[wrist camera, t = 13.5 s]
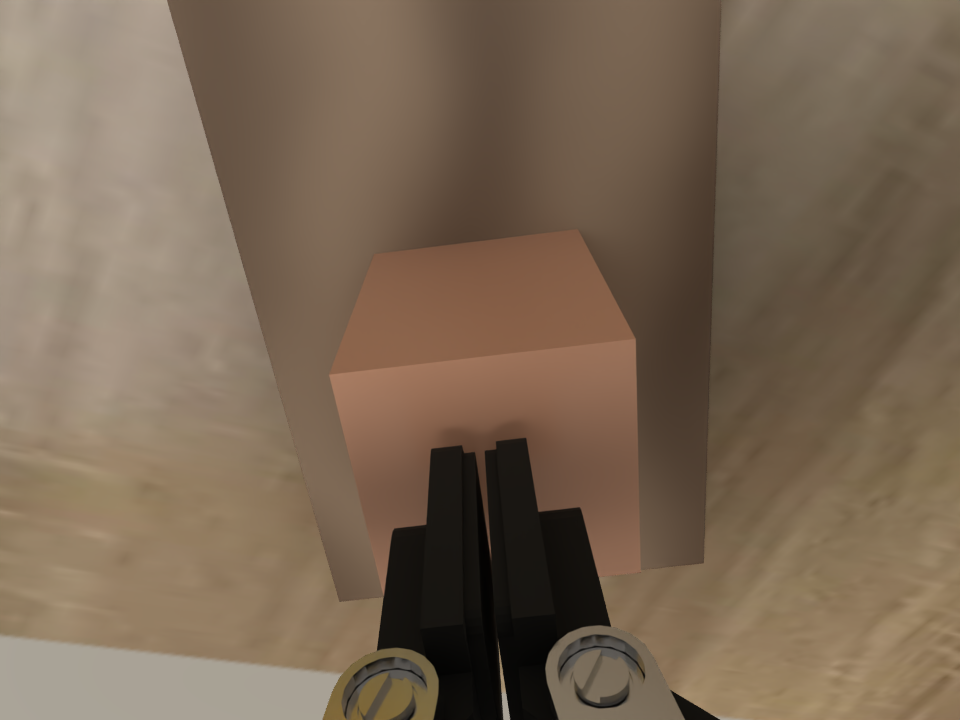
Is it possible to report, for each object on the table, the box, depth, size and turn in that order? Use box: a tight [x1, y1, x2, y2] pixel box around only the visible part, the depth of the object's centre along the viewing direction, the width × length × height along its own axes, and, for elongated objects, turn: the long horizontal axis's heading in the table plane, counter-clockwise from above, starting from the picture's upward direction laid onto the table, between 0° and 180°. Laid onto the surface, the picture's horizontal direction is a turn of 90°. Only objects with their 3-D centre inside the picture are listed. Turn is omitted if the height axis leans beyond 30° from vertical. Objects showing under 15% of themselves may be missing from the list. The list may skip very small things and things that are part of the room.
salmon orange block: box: [329, 229, 641, 596], centre depth 16 cm, size 5×5×7 cm
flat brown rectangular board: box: [167, 0, 721, 602], centre depth 17 cm, size 12×18×7 cm, turn 7°
